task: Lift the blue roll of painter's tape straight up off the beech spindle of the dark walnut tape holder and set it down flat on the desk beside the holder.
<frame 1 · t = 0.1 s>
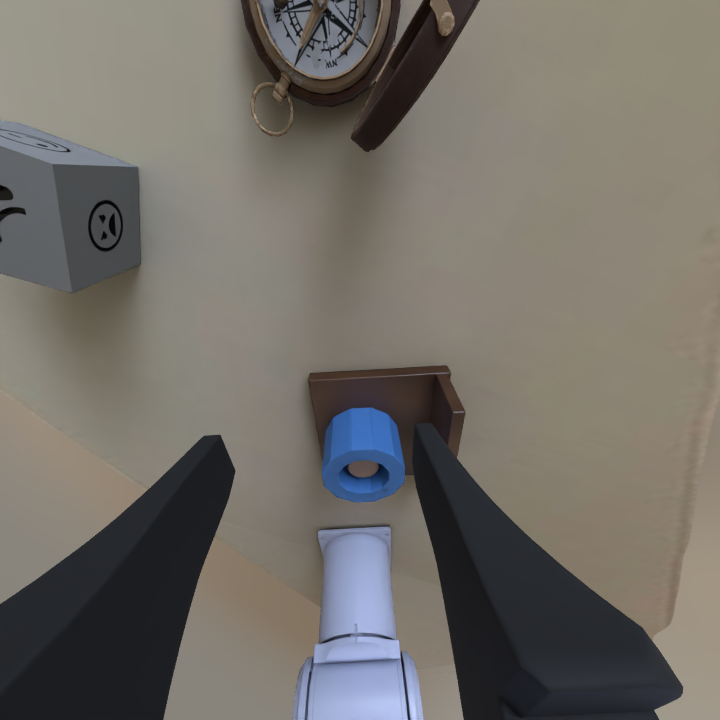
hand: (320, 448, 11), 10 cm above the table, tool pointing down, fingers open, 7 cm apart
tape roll: (361, 434, 24), point 1 cm above the table, touching holder
compass: (326, 54, 13), on the table
holder: (379, 424, 24), on the table
dice cube: (89, 201, 16), on the table
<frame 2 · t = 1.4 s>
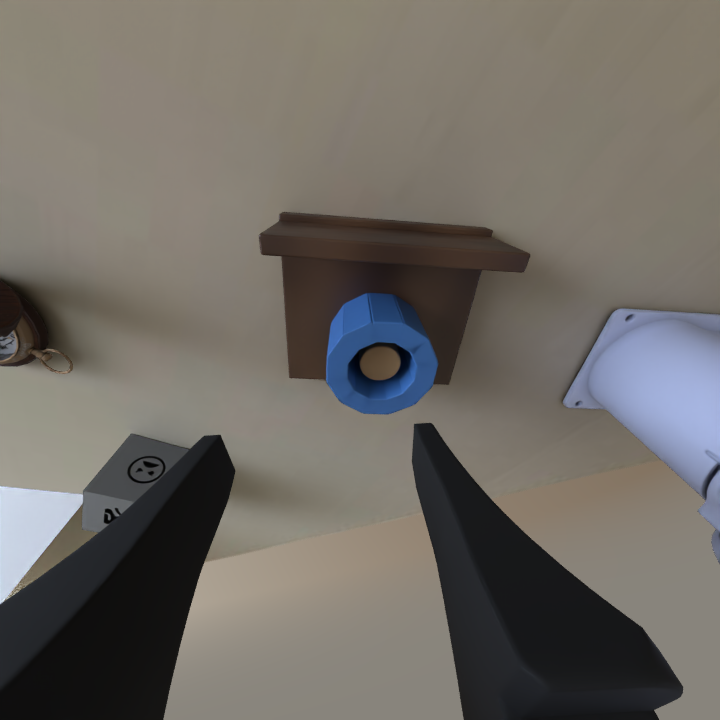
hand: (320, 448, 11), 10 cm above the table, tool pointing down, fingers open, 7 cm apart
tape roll: (375, 336, 18), point 1 cm above the table, touching holder
compass: (18, 316, 18), on the table
holder: (376, 307, 18), on the table
dice cube: (161, 459, 25), on the table
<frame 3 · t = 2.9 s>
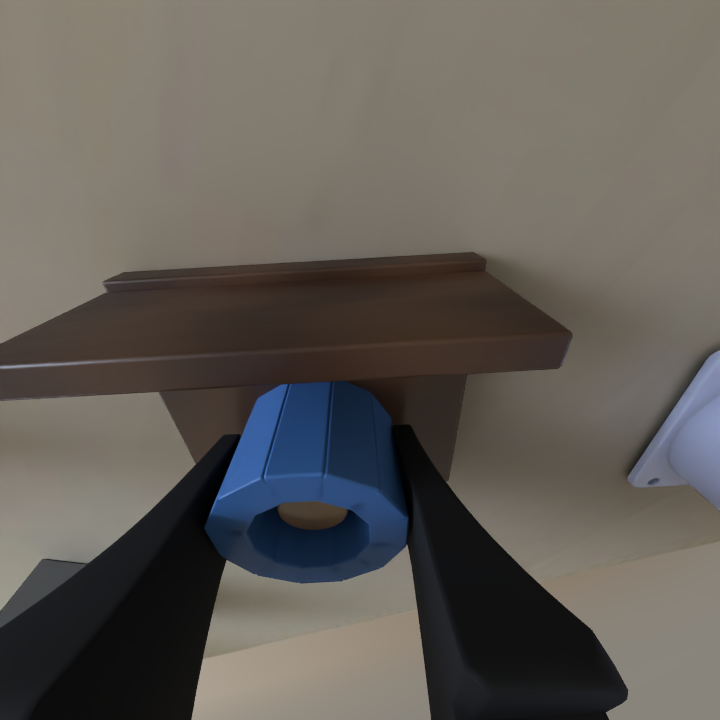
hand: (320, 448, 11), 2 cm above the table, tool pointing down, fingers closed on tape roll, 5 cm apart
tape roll: (321, 434, 12), point 1 cm above the table, touching gripper, holder
holder: (318, 389, 12), on the table
dice cube: (94, 578, 20), on the table
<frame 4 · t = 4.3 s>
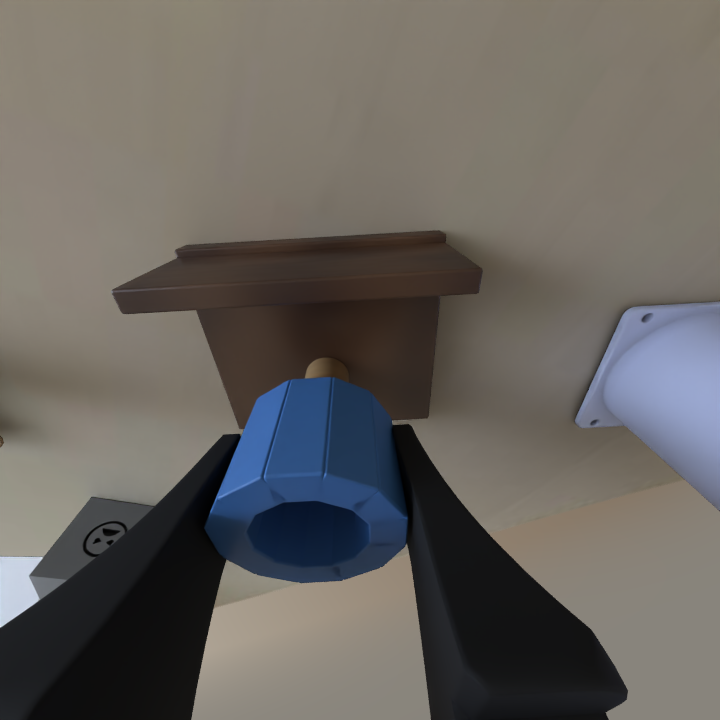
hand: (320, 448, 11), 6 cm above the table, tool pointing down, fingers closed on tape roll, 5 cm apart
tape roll: (321, 434, 12), point 5 cm above the table, touching gripper
holder: (325, 340, 15), on the table
dice cube: (132, 518, 23), on the table
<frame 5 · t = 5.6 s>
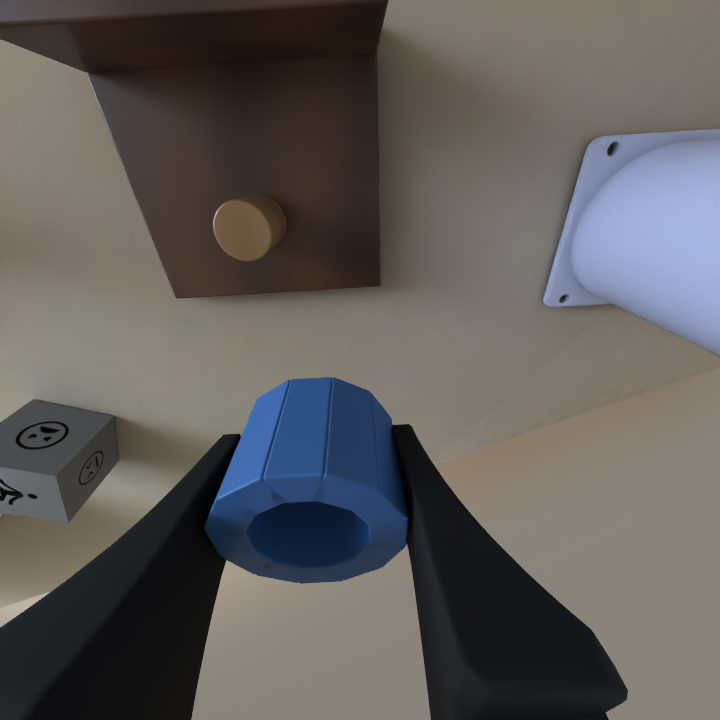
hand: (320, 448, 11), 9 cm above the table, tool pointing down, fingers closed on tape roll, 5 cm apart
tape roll: (320, 434, 12), point 8 cm above the table, touching gripper
holder: (261, 183, 14), on the table
dice cube: (81, 430, 22), on the table
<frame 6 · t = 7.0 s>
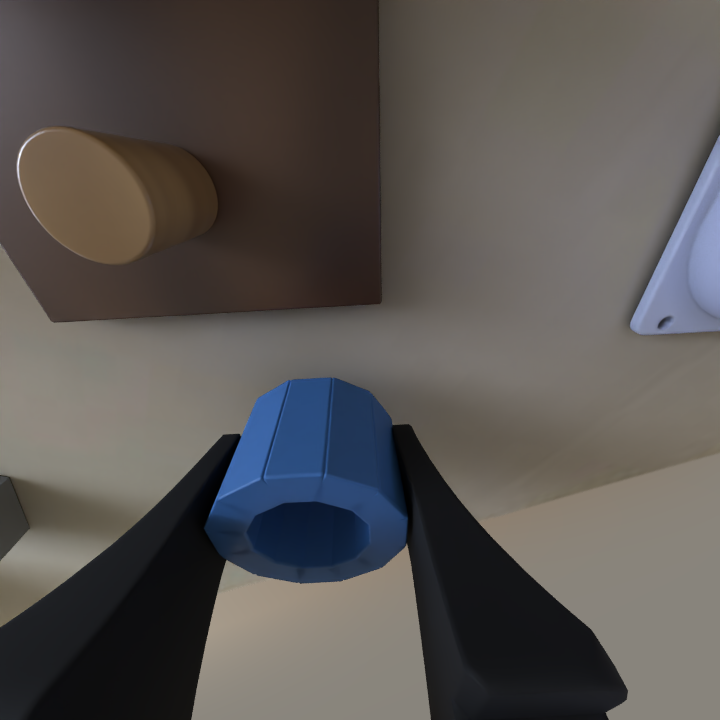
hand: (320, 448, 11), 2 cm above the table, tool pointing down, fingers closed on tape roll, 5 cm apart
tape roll: (321, 434, 12), point 2 cm above the table, touching gripper
holder: (173, 128, 8), on the table
when the fingers open (1 cm above the table, at t = 8.2 s): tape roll stays where it is, on the table.
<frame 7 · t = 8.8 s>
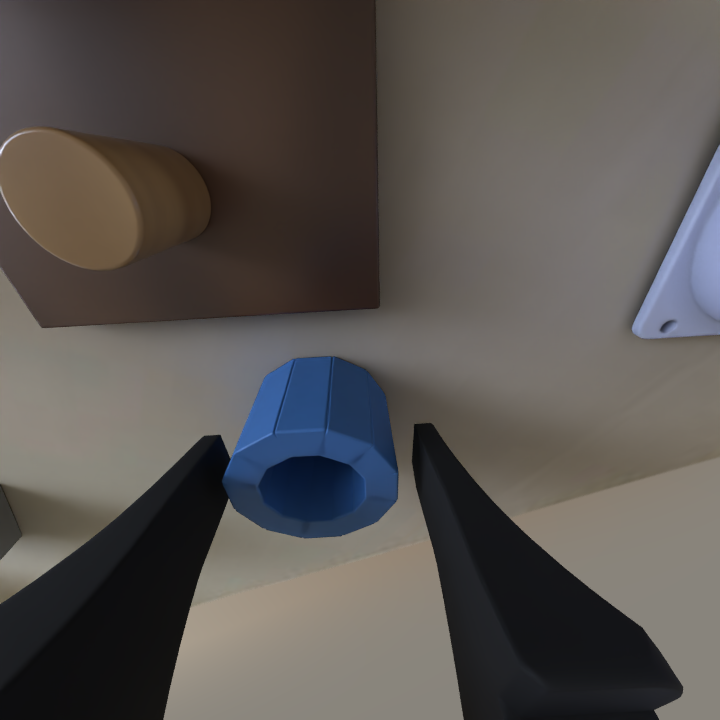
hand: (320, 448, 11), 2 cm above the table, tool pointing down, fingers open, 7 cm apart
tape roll: (322, 410, 13), on the table
holder: (165, 128, 8), on the table
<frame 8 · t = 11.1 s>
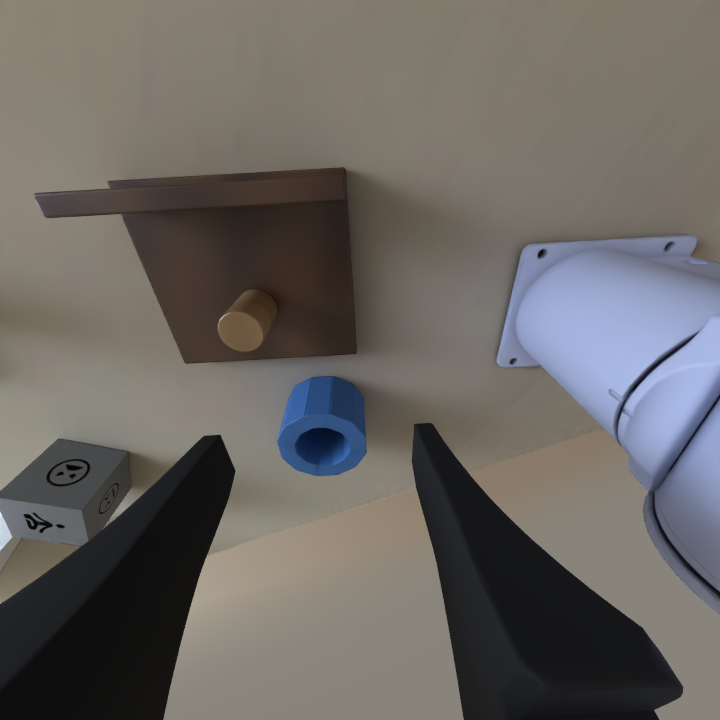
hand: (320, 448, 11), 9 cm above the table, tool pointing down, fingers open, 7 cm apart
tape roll: (326, 406, 22), on the table
holder: (256, 276, 17), on the table
dice cube: (98, 463, 25), on the table
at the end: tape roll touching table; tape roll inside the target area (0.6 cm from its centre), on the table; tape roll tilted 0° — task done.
